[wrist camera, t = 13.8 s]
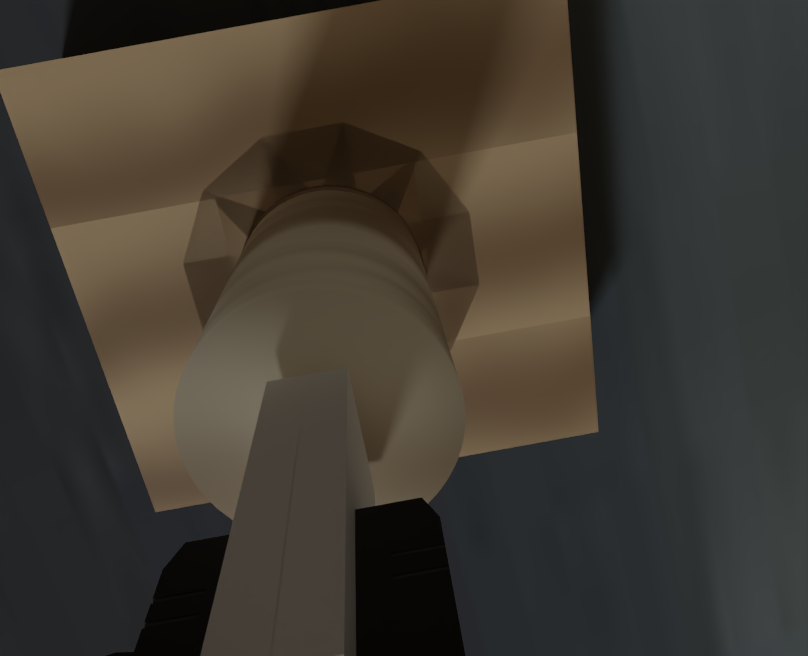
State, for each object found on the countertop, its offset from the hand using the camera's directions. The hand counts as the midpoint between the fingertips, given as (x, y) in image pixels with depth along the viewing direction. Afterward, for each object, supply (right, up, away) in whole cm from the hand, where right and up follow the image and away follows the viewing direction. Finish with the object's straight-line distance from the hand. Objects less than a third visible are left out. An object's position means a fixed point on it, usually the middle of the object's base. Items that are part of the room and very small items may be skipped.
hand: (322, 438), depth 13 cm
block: (-1, +6, +14) cm, 15 cm away
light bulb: (-1, +5, +13) cm, 14 cm away
